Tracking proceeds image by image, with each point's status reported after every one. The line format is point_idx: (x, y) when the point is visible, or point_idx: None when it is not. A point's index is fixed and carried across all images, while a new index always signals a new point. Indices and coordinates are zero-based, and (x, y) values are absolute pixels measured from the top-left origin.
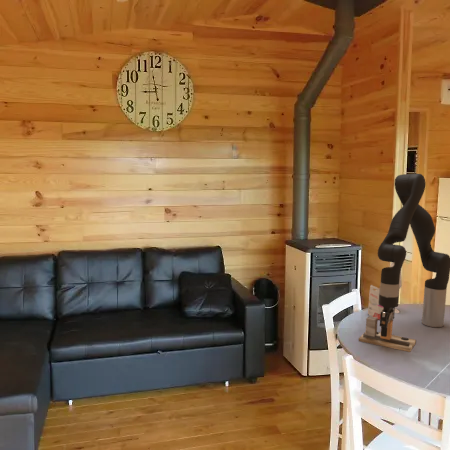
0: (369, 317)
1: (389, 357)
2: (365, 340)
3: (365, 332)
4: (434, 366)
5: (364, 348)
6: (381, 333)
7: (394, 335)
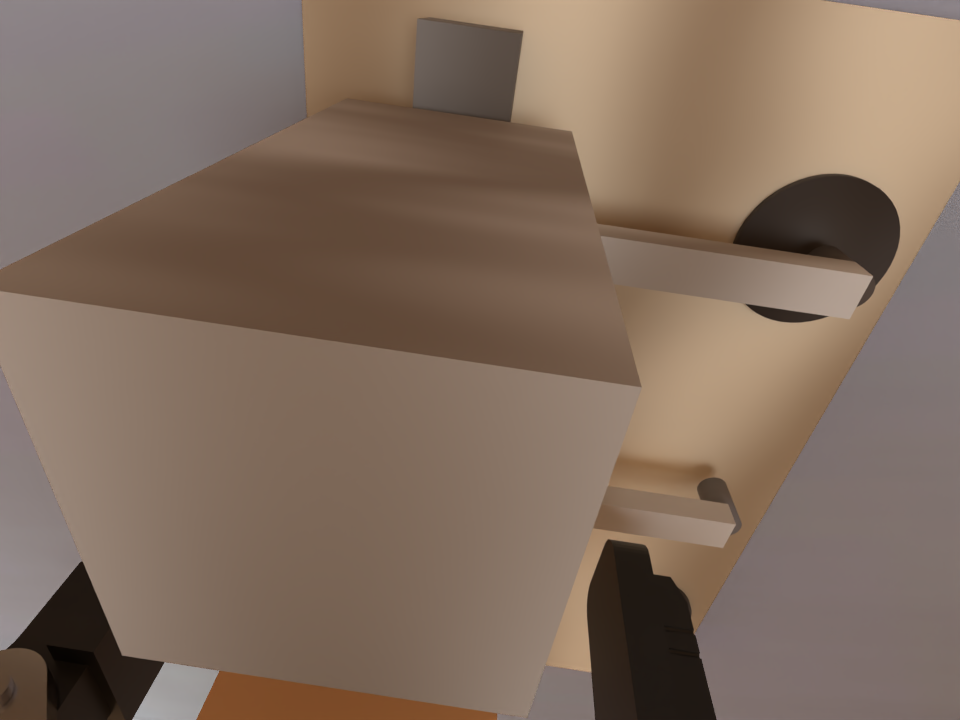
0: (320, 441)
1: (26, 451)
2: (314, 102)
3: (813, 24)
4: (152, 698)
5: (31, 126)
6: None
7: (757, 519)
